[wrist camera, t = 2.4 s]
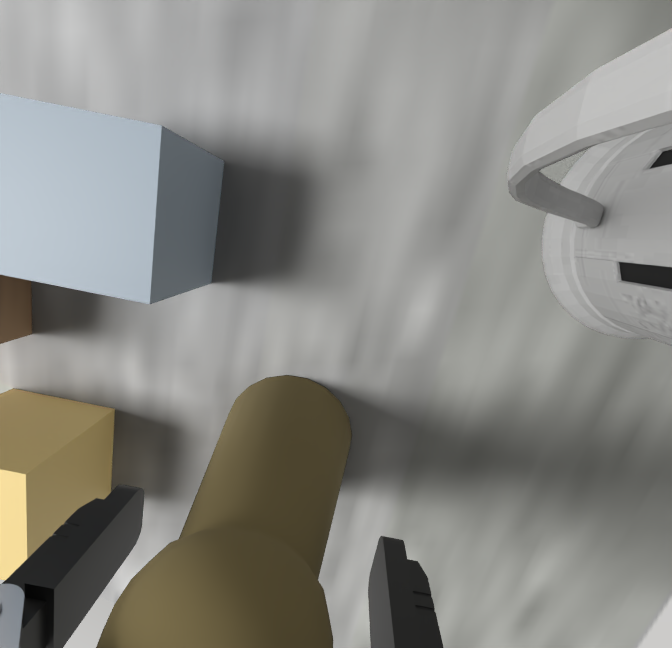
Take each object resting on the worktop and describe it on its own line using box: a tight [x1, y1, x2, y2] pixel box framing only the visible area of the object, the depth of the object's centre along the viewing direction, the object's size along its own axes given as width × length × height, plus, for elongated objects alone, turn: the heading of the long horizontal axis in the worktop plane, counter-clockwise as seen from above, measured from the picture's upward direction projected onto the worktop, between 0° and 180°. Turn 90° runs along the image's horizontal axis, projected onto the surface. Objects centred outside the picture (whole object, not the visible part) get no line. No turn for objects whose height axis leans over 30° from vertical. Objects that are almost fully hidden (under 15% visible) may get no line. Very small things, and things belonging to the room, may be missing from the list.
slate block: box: [0, 93, 224, 304], centre depth 13 cm, size 5×5×5 cm
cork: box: [96, 375, 352, 648], centre depth 12 cm, size 6×6×11 cm
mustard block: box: [0, 388, 115, 580], centre depth 16 cm, size 5×5×5 cm
